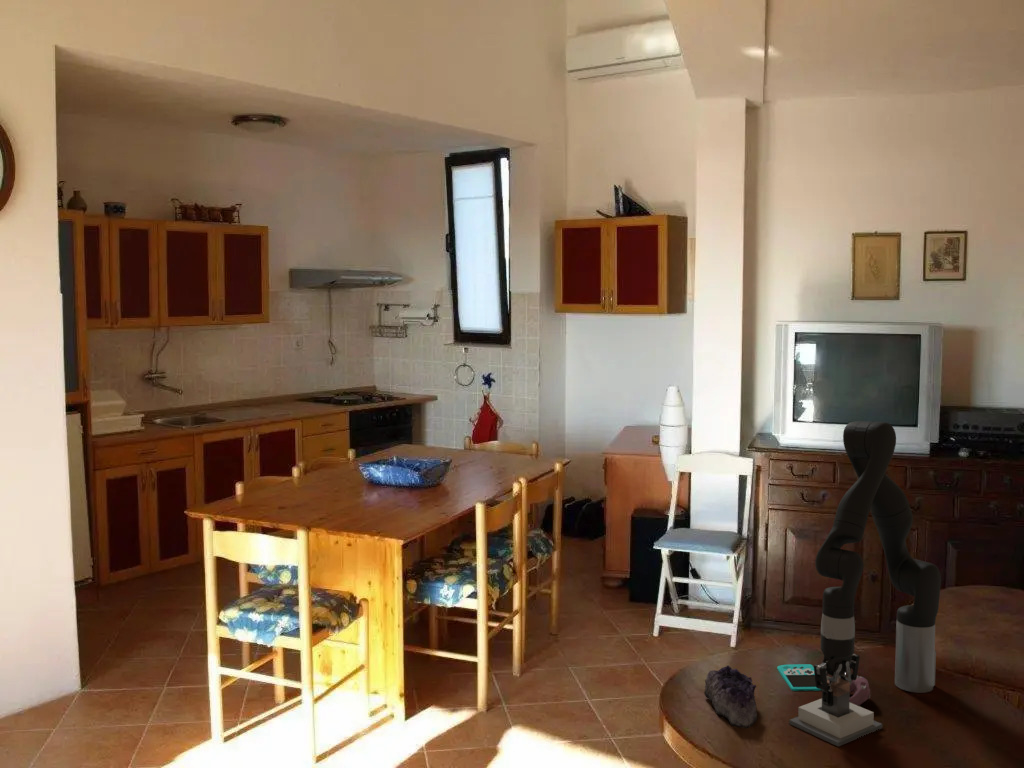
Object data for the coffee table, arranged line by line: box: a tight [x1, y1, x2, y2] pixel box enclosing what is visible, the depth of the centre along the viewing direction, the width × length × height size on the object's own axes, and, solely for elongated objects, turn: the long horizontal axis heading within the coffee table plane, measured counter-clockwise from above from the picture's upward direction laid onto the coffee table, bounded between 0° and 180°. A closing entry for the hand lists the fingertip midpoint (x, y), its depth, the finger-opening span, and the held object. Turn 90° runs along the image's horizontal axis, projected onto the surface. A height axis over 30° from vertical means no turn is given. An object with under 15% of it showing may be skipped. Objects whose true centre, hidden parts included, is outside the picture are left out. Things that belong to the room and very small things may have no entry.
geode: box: [703, 665, 758, 729], centre depth 240 cm, size 20×12×10 cm, turn 6°
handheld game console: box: [776, 663, 822, 692], centre depth 259 cm, size 10×16×1 cm, turn 0°
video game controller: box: [849, 674, 871, 706], centre depth 244 cm, size 10×5×7 cm, turn 170°
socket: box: [788, 697, 883, 747], centre depth 231 cm, size 16×14×4 cm
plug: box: [821, 676, 851, 718], centre depth 230 cm, size 4×4×10 cm
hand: (836, 701), depth 230 cm, fingers open, 5 cm apart
